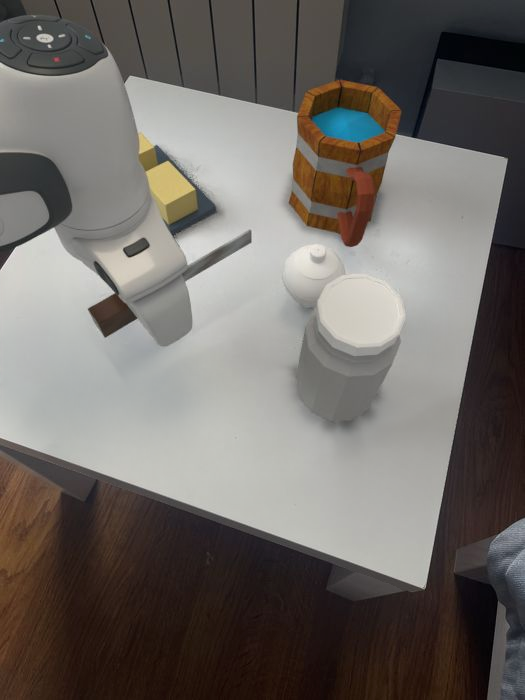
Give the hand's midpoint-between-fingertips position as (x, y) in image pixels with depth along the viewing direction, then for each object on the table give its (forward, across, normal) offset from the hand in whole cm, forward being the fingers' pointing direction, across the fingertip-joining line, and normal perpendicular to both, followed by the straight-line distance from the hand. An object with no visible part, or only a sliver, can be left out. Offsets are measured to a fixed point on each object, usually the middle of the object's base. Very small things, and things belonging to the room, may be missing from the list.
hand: (134, 301), depth 60 cm
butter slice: (+9, -27, +15) cm, 32 cm away
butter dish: (+10, -21, +15) cm, 28 cm away
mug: (+10, -2, +34) cm, 35 cm away
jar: (+10, +19, +15) cm, 26 cm away
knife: (+2, 0, +5) cm, 6 cm away
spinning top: (+10, +8, +20) cm, 24 cm away
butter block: (+9, -18, +15) cm, 25 cm away
